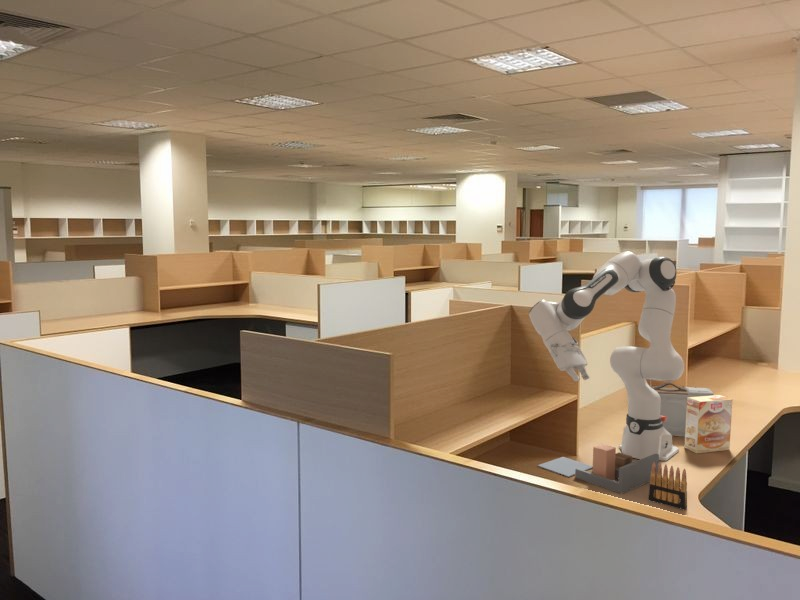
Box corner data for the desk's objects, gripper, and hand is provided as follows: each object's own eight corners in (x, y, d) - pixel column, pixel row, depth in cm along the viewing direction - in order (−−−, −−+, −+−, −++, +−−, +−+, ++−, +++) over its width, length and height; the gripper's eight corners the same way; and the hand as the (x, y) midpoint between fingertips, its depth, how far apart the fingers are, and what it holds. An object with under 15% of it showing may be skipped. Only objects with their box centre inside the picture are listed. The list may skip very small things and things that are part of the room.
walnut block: (618, 469, 225) (619, 452, 224) (631, 473, 221) (632, 456, 220) (610, 472, 222) (610, 455, 221) (623, 477, 218) (623, 459, 217)
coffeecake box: (697, 453, 240) (699, 401, 238) (683, 447, 247) (686, 396, 245) (730, 450, 245) (733, 398, 242) (716, 444, 251) (719, 394, 249)
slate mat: (562, 457, 236) (562, 456, 236) (593, 467, 226) (593, 466, 226) (537, 466, 227) (537, 465, 227) (568, 477, 217) (568, 476, 217)
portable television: (711, 438, 258) (715, 363, 255) (647, 434, 263) (651, 360, 260) (704, 429, 270) (707, 357, 267) (643, 425, 275) (646, 355, 272)
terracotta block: (601, 476, 219) (602, 443, 217) (614, 480, 215) (615, 447, 214) (592, 479, 215) (593, 446, 214) (605, 484, 212) (606, 451, 210)
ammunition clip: (648, 500, 199) (649, 461, 198) (650, 498, 201) (652, 460, 199) (684, 509, 192) (686, 470, 191) (687, 507, 194) (688, 468, 192)
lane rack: (612, 463, 230) (612, 441, 229) (657, 478, 217) (658, 454, 216) (575, 477, 217) (575, 454, 216) (621, 493, 204) (622, 468, 203)
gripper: (556, 338, 212) (579, 376, 207) (577, 339, 229) (599, 373, 224) (541, 349, 215) (563, 386, 210) (563, 349, 232) (584, 383, 227)
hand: (582, 379), depth 217 cm, fingers open, 8 cm apart
